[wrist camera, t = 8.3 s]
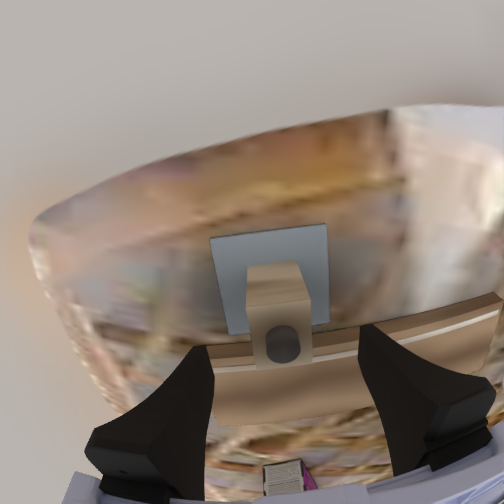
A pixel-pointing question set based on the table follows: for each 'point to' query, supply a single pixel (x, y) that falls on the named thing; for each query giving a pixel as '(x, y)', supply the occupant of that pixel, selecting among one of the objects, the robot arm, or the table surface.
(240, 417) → the walnut board
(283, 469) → the candy bar box
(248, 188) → the table surface
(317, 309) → the slate mat
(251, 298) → the block
